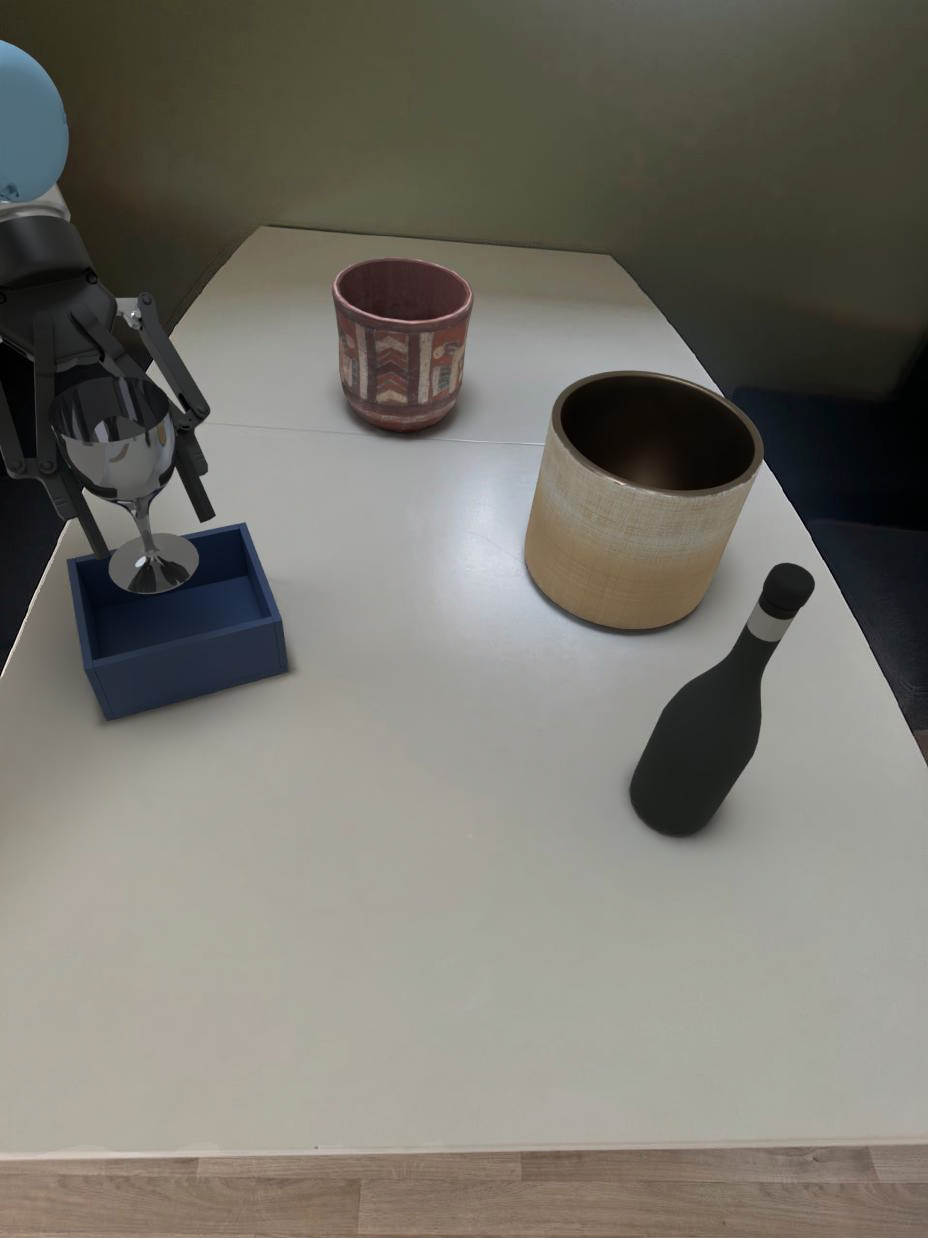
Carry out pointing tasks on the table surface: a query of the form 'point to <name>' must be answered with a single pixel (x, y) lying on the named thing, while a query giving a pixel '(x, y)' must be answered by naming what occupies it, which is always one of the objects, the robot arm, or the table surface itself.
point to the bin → (178, 627)
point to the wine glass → (126, 470)
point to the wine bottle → (716, 717)
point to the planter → (638, 496)
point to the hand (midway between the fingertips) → (157, 537)
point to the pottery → (401, 340)
